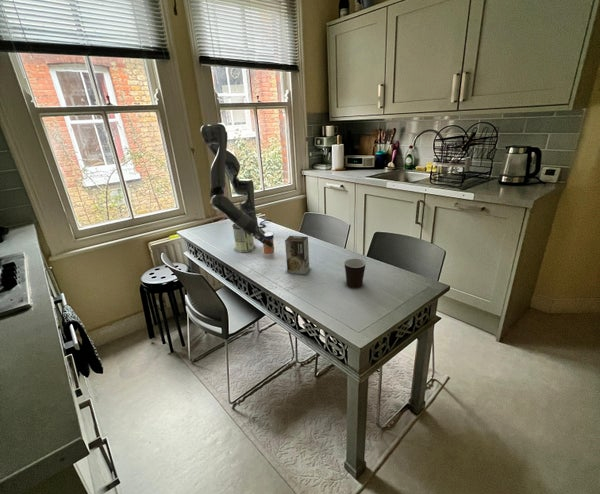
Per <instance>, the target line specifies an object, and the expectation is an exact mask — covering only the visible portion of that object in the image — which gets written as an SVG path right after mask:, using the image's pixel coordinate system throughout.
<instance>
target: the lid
mask: <svg viewBox="0 0 600 494" xmlns="http://www.w3.org/2000/svg"><path fill="white" fill-rule="evenodd" d="M263 234H264V235H265V237H266V238H267V239H268V240H269V239H272V238H273V239H274V232H270V231H268V232H266V233H263ZM262 237H263V236H262Z"/></svg>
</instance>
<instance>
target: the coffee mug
mask: <svg viewBox="0 0 600 494" xmlns="http://www.w3.org/2000/svg"><path fill="white" fill-rule="evenodd" d="M343 263H344V272H345V282H346V286H347V287H348V288H351V289H359V288H361V287H363V283H364V277H365V270H366V261H365V260H364V259H361V258H348V259H346V260H344V262H343Z"/></svg>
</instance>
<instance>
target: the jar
mask: <svg viewBox="0 0 600 494" xmlns="http://www.w3.org/2000/svg"><path fill="white" fill-rule="evenodd" d="M263 241H264V239H263ZM269 241H270V242H272V243H273V246H272V247H269V246H268V245H267V244H263V243H262V249H263V254H264V255H273V254H274V253H275V243H274V237H273V238H272V239H269Z"/></svg>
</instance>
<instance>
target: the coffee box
mask: <svg viewBox="0 0 600 494" xmlns="http://www.w3.org/2000/svg"><path fill="white" fill-rule="evenodd" d="M284 245H285V258H286V270H287V274H298V275H307V273H308V272H309V270H310V254H309V252H310V251H309V236H304V235H303V236H302V235H301V236H300V235H289V236H288V237H287V238H285V240H284Z"/></svg>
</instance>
